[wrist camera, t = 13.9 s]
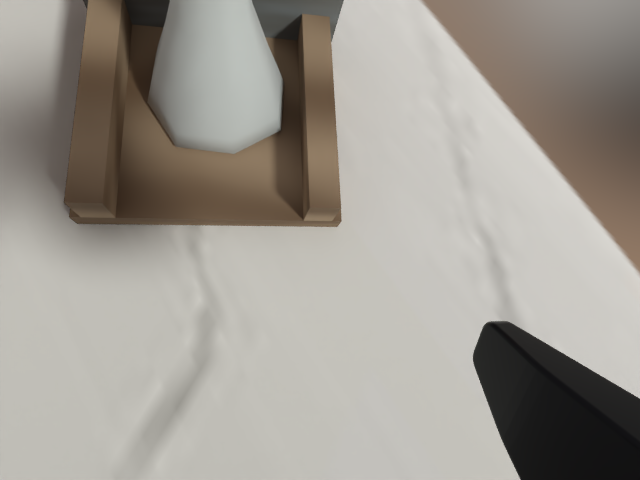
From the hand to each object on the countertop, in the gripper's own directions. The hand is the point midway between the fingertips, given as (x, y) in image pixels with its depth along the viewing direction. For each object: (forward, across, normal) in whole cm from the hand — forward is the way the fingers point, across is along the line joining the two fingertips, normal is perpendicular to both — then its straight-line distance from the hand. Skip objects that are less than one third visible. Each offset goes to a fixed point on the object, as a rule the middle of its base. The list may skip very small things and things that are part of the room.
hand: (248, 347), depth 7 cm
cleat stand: (+19, +2, 0) cm, 19 cm away
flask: (+18, +1, 0) cm, 19 cm away
